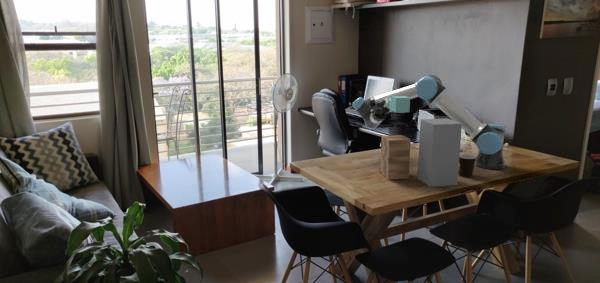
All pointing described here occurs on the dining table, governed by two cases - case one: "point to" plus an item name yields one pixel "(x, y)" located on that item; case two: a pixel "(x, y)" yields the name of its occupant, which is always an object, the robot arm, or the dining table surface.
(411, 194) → the dining table surface
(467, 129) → the robot arm
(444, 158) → the stand
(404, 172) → the walnut block
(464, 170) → the coffee mug
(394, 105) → the teal bar
